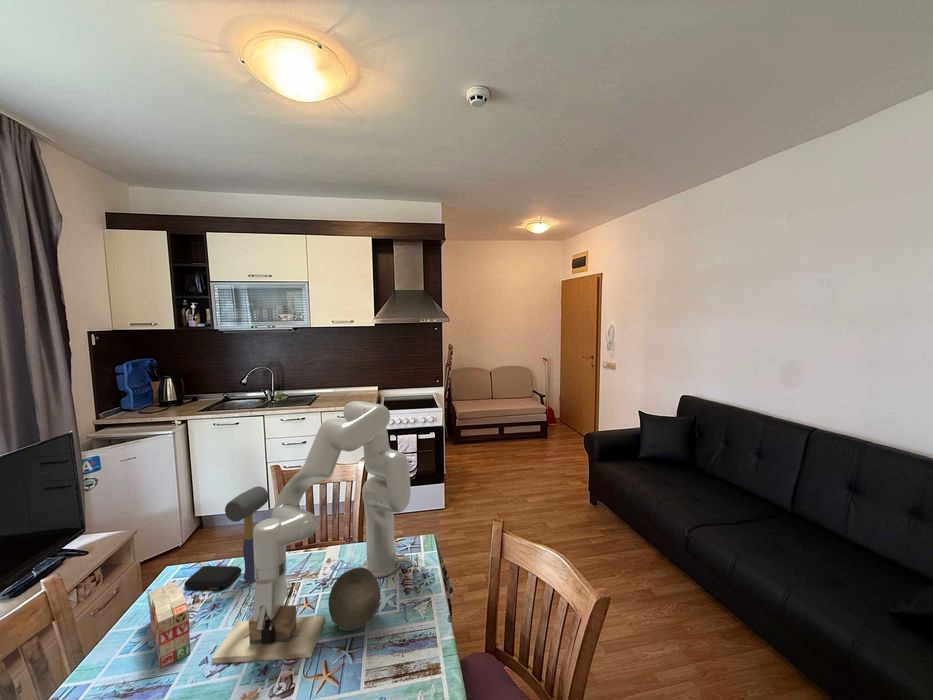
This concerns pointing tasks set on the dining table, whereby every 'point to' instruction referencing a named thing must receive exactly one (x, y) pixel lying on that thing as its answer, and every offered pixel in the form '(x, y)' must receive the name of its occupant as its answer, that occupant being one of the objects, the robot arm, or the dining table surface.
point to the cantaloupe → (354, 598)
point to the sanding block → (276, 625)
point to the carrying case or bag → (213, 577)
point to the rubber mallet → (247, 522)
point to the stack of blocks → (169, 623)
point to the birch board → (298, 646)
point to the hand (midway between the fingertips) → (273, 633)
